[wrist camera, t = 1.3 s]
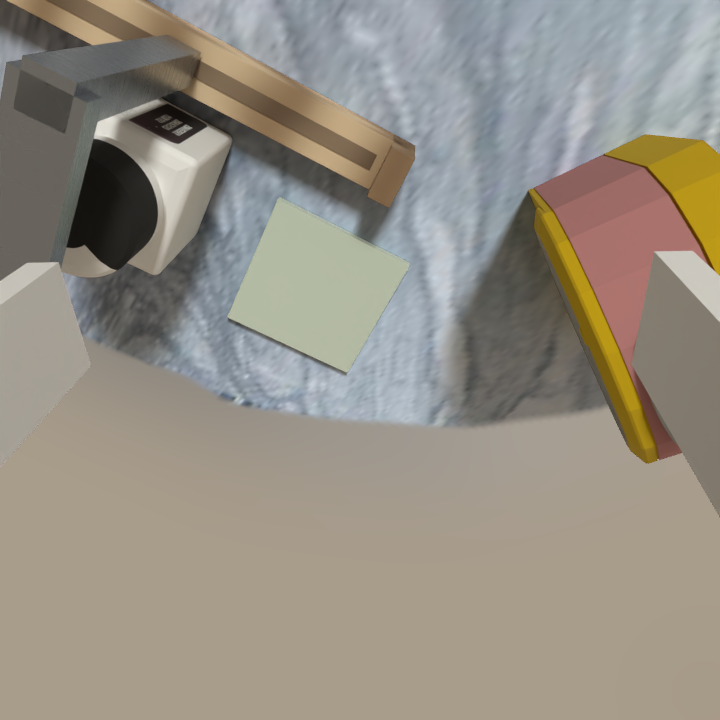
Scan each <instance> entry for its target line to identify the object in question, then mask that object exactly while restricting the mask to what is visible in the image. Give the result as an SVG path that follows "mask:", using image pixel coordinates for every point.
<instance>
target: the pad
mask: <svg viewBox="0 0 720 720" xmlns="http://www.w3.org/2000/svg"><path fill="white" fill-rule="evenodd" d="M409 266H410V263H409V262H407V261H405V260H403V259H401V258H399V257H397V256H395V255H393V254H391V253H389V252H387V251H385V250H384V249H382V248H380V247H378V246H376V245H374V244H372V243H370V242H368V241H366V240H364V239H362V238H360V237H358V236H356V235H354V234H352V233H350V232H348V231H346V230H344V229H342V228H340V227H338V226H336V225H334V224H332V223H330V222H328V221H326V220H324V219H322V218H320V217H318V216H316V215H314V214H312V213H310V212H308V211H307V210H305V209H303V208H301V207H299V206H297V205H295V204H293V203H291V202H289V201H287V200H285V199H283V198H281V197H279V198H278V200H277V203H276V205H275V207H274V210H273V212H272V214H271V217H270V219H269V221H268V224H267V226H266V228H265V231H264V233H263V235H262V238H261V240H260V242H259V245H258V247H257V249H256V252H255V254H254V256H253V259H252V261H251V263H250V266H249V268H248V270H247V273H246V275H245V277H244V280H243V282H242V284H241V287H240V289H239V291H238V294H237V296H236V298H235V301H234V303H233V305H232V308H231V310H230V312H229V315H228V318H230V319H232V320H234V321H236V322H239V323H241V324H243V325H245V326H247V327H249V328H251V329H254V330H256V331H258V332H260V333H262V334H264V335H266V336H269V337H271V338H273V339H275V340H277V341H279V342H282V343H284V344H286V345H288V346H290V347H292V348H294V349H297V350H299V351H301V352H303V353H305V354H307V355H309V356H312V357H314V358H316V359H318V360H320V361H322V362H325V363H327V364H329V365H331V366H333V367H335V368H337V369H340V370H342V371H344V372H346V373H348V371H349V369H350V368H351V366H352V364H353V363H354V361H355V359H356V357H357V356H358V354H359V352H360V350H361V349H362V347H363V345H364V344H365V342H366V340H367V338H368V337H369V335H370V333H371V332H372V330H373V328H374V326H375V325H376V323H377V321H378V320H379V318H380V316H381V314H382V313H383V311H384V309H385V307H386V306H387V304H388V302H389V301H390V299H391V297H392V295H393V294H394V292H395V290H396V289H397V287H398V285H399V283H400V282H401V280H402V278H403V277H404V275H405V273H406V271H407V270H408V268H409Z"/></svg>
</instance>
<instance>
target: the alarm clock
mask: <svg viewBox="0 0 720 720" xmlns="http://www.w3.org/2000/svg"><path fill="white" fill-rule="evenodd" d="M528 191H529V194H530V196H531V199H532V201H533V203H534V206H535V208H536V211H535V221H534V229H535V232H536V235H537V238H538V241H539V243H540V246H541V248H542V251H543V254H544V256H545V259H546V261H547V264H548V266H549V268H550V271H551V273H552V276H553V278H554V281H555V283H556V286H557V288H558V290H559V293H560V295H561V297H562V300H563V302H564V305H565V307H566V309H567V312H568V314H569V316H570V319H571V321H572V323H573V326H574V328H575V330H576V333H577V335H578V337H579V340H580V342H581V344H582V347H583V349H584V351H585V354H586V356H587V358H588V361H589V363H590V365H591V367H592V370H593V372H594V374H595V376H596V379H597V381H598V383H599V385H600V388H601V390H602V392H603V394H604V397H605V399H606V401H607V403H608V405H609V408H610V410H611V412H612V414H613V416H614V419H615V421H616V423H617V425H618V427H619V429H620V431H621V434H622V436H623V438H624V440H625V442H626V444H627V446H628V447H629V449H630V450H631V451H632V452H633V453H634V454H635V455H636V456H638V457H639V458H640V459H641V460H643V461H644V462H645V463H652V462H654V461H657V459H659V460H661V459H664V458H667V457H670V456H674V455H677V454H680V453H682V451H681V449H680V448H679V446H678V444H677V442H676V441H675V439H674V437H673V436H672V434H671V432H670V430H669V429H668V427H667V425H666V423H665V422H664V420H663V418H662V417H661V415H660V413H659V411H658V410H657V408H656V406H655V404H654V403H653V401H652V399H651V398H650V396H649V394H648V392H647V391H646V389H645V387H644V385H643V384H642V382H641V380H640V379H639V377H638V375H637V373H636V372H635V370H634V368H633V366H632V360H633V355H634V350H635V345H636V340H637V335H638V330H639V325H640V320H641V315H642V310H643V305H644V300H645V295H646V290H647V285H648V280H649V275H650V270H651V265H652V260H653V255H654V251H693V252H694V253H696V254H697V255H698V256H699V257H700V258H701V259H702V260H703V261H704V262H705V263H706V264H707V265H709V266H710V267H711V268H712V269H713V270H714V271H715V272H716V273H717V274H718V275H719V276H720V154H718V153H717V152H716V151H715V150H714V149H713V148H711V147H710V146H709V145H708V144H707V143H706V142H704V141H703V140H694V139H685V138H675V137H665V136H656V135H646V134H645V135H643V136H641V137H639V138H637V139H635V140H633V141H631V142H628V143H626V144H624V145H622V146H620V147H618V148H616V149H614V150H612V151H610V152H608V153H605V154H604V156H603V155H601V156H599V157H597V158H595V159H593V160H591V161H589V162H587V163H585V164H583V165H580V166H578V167H576V168H574V169H572V170H570V171H568V172H566V173H564V174H562V175H560V176H557V177H555V178H553V179H551V180H549V181H547V182H545V183H543V184H541V185H539V186H537V187H535V188H534V189H530V190H528Z"/></svg>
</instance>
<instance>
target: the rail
mask: <svg viewBox="0 0 720 720" xmlns="http://www.w3.org/2000/svg"><path fill="white" fill-rule="evenodd" d="M7 1H9V2H11V3H13V4H14V5H16V6H18V7H20V8H22V9H24V10H26V11H28V12H30V13H32V14H34V15H36V16H37V17H39V18H41V19H43V20H45V21H47V22H49V23H51V24H53V25H55V26H57V27H59V28H60V29H62V30H64V31H66V32H68V33H70V34H72V35H74V36H76V37H78V38H80V39H82V40H83V41H85V42H87V43H89V44H91V45H98V44H105V43H112V42H119V41H126V40H133V39H140V38H147V37H154V36H161V35H170V36H172V37H174V38H176V39H177V40H179V41H181V42H183V43H185V44H187V45H189V46H190V47H192V48H194V49H196V50H198V51H200V52H201V54H200V58H199V61H198V64H197V67H196V70H195V73H194V76H193V80H192V83H191V86H190V87H187V88H185V89H182V90H180V91H181V92H183V93H185V94H187V95H189V96H191V97H193V98H195V99H196V100H198V101H200V102H202V103H204V104H206V105H208V106H210V107H212V108H214V109H216V110H218V111H219V112H221V113H223V114H225V115H227V116H229V117H231V118H233V119H235V120H237V121H239V122H241V123H242V124H244V125H246V126H248V127H250V128H252V129H254V130H256V131H258V132H260V133H262V134H264V135H265V136H267V137H269V138H271V139H273V140H275V141H277V142H279V143H281V144H283V145H285V146H287V147H288V148H290V149H292V150H294V151H296V152H298V153H300V154H302V155H304V156H306V157H308V158H310V159H311V160H313V161H315V162H317V163H319V164H321V165H323V166H325V167H327V168H329V169H331V170H333V171H334V172H336V173H338V174H340V175H342V176H344V177H346V178H348V179H350V180H352V181H354V182H356V183H357V184H359V185H361V186H363V187H365V188H367V189H369V191H368V195H367V197H369V198H371V199H373V200H375V201H377V202H378V203H380V204H382V205H384V206H386V207H388V208H389V207H390V205H391V203H392V202H393V200H394V198H395V196H396V194H397V192H398V190H399V188H400V187H401V185H402V183H403V181H404V179H405V177H406V175H407V173H408V171H409V170H410V168H411V166H412V164H413V162H414V160H415V145H413V144H411V143H409V142H407V141H405V140H404V139H402V138H400V137H398V136H396V135H394V134H392V133H391V132H389V131H387V130H385V129H383V128H381V127H380V126H378V125H376V124H374V123H372V122H370V121H368V120H367V119H365V118H363V117H361V116H359V115H357V114H356V113H354V112H352V111H350V110H348V109H346V108H344V107H343V106H341V105H339V104H337V103H335V102H333V101H332V100H330V99H328V98H326V97H324V96H322V95H321V94H319V93H317V92H315V91H313V90H311V89H309V88H308V87H306V86H304V85H302V84H300V83H298V82H297V81H295V80H293V79H291V78H289V77H287V76H285V75H284V74H282V73H280V72H278V71H276V70H274V69H273V68H271V67H269V66H267V65H265V64H263V63H261V62H260V61H258V60H256V59H254V58H252V57H250V56H249V55H247V54H245V53H243V52H241V51H239V50H238V49H236V48H234V47H232V46H230V45H228V44H226V43H225V42H223V41H221V40H219V39H217V38H215V37H214V36H212V35H210V34H208V33H206V32H204V31H202V30H201V29H199V28H197V27H195V26H193V25H191V24H190V23H188V22H186V21H184V20H182V19H180V18H178V17H177V16H175V15H173V14H171V13H169V12H167V11H166V10H164V9H162V8H160V7H158V6H156V5H154V4H153V3H151V2H149V1H147V0H7Z"/></svg>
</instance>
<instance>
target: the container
mask: <svg viewBox="0 0 720 720" xmlns="http://www.w3.org/2000/svg"><path fill="white" fill-rule="evenodd" d="M231 144H232V137H231V136H230V135H229V134H227V133H225V132H223V131H221V130H220V129H218V128H216V127H214V126H212V125H210V124H208V123H206V122H205V121H203V120H201V119H199V118H197V117H195V116H193V115H192V114H190V113H188V112H186V111H184V110H182V109H180V108H178V107H177V106H175V105H173V104H171V103H169V102H167V101H165V100H164V99H162V98H159V99H156V100H153V101H151V102H148V103H146V104H143V105H140V106H138V107H135V108H133V109H130V110H127V111H125V112H122V113H120V114H117V115H114V116H112V117H109V118H107V119H104V120H101V121H99V122H98V123H97V127H96V131H95V135H94V139H93V143H92V147H91V151H90V155H89V159H88V163H87V167H86V171H85V175H84V179H83V183H82V187H81V191H80V195H79V199H78V203H77V207H76V211H75V215H74V219H73V223H72V227H71V231H70V235H69V239H68V243H67V247H66V251H65V255H64V259H63V263H62V267H61V271H62V272H65V273H67V274H70V275H74V276H78V277H87V278H90V277H101V276H105V275H108V274H111V273H113V272H115V271H117V270H118V269H120V268H121V267H123V266H124V265H125V264H126V263H129V264H131V265H133V266H135V267H137V268H139V269H141V270H143V271H145V272H147V273H149V274H151V275H158V274H160V273H161V272H162V270H163V269H164V268H165V267H166V266H167V265H168V264H169V263H170V262H171V261H172V260H173V259H174V258H175V257H176V256H177V255H178V254H179V252H180V251H181V250H182V249H183V248H184V247H185V246H186V245H187V244H188V243H189V242H190V241H191V240H192V239H193V238H194V237H195V235H196V234H197V232H198V229H199V227H200V224H201V222H202V219H203V216H204V214H205V211H206V209H207V206H208V204H209V201H210V198H211V196H212V193H213V191H214V188H215V186H216V183H217V180H218V178H219V175H220V173H221V170H222V167H223V165H224V162H225V160H226V157H227V155H228V152H229V149H230V147H231Z"/></svg>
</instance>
